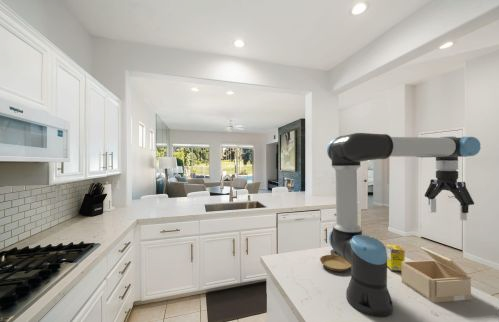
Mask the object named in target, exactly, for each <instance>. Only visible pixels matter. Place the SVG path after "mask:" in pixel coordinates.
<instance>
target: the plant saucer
mask: <svg viewBox="0 0 499 322" xmlns="http://www.w3.org/2000/svg"><path fill="white" fill-rule="evenodd" d="M319 261H320V262H321V264H322V265H323V266H324V267H325V268H326V269H328V270H330V271H333V272H338V273H339V272H340V273H341V272H345V271H348V269H351V264H350V263H349V262H347V261H346V260H345V259H344V258H343V257H340V256H336V255H332V254H326V255H322V256H320V257H319Z"/></svg>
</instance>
